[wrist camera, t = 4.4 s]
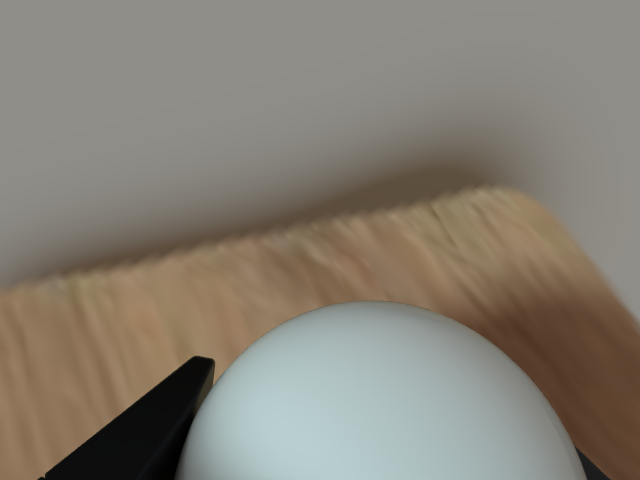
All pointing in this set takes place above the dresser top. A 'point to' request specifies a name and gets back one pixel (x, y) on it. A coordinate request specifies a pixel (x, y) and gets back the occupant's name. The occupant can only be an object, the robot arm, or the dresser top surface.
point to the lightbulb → (376, 405)
